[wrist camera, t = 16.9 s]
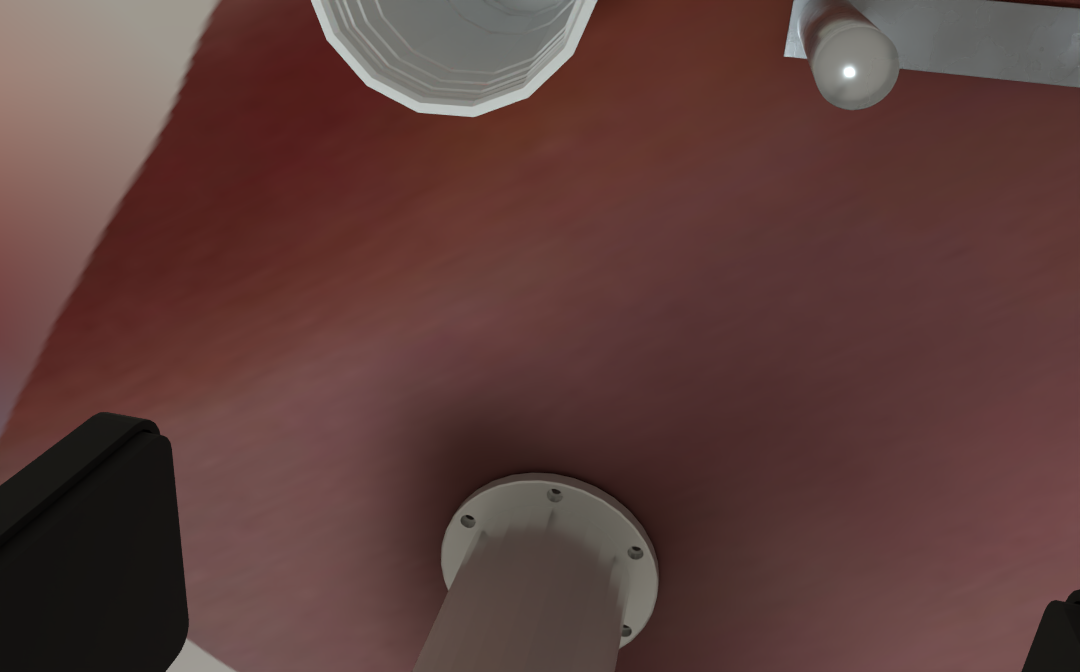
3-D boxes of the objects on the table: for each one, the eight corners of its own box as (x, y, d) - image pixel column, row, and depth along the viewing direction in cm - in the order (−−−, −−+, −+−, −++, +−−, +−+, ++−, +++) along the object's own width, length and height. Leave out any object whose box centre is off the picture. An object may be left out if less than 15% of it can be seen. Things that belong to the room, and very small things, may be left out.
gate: (1203, 98, 39) (1416, 184, 27) (783, 54, 42) (795, 113, 29) (1231, 22, 38) (1468, 74, 25) (796, -19, 40) (815, 11, 28)
